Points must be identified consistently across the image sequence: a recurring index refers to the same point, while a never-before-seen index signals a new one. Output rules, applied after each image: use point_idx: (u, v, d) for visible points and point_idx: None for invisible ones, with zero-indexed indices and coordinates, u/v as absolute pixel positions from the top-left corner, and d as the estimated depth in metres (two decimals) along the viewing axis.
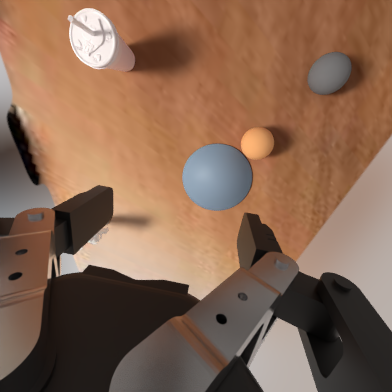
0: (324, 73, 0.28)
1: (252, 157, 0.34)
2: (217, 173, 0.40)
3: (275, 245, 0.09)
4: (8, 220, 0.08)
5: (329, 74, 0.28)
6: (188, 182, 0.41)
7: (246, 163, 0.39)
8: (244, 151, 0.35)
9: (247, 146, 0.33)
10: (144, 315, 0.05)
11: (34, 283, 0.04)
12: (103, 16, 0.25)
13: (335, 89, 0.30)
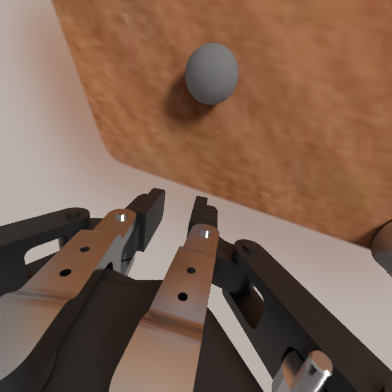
0: (223, 57, 0.18)
1: None
2: None
3: (214, 221, 0.10)
4: (94, 220, 0.09)
5: (217, 58, 0.18)
6: None
7: None
8: None
9: None
10: (144, 315, 0.05)
11: (71, 287, 0.04)
12: None
13: (191, 57, 0.19)
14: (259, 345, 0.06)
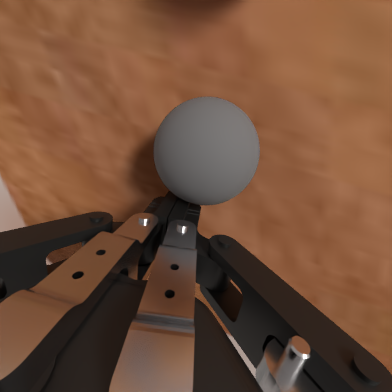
0: (236, 113, 0.09)
1: None
2: None
3: (195, 218, 0.10)
4: (116, 224, 0.09)
5: (224, 111, 0.08)
6: None
7: None
8: None
9: None
10: None
11: (80, 291, 0.04)
12: None
13: (171, 111, 0.10)
14: (239, 337, 0.07)
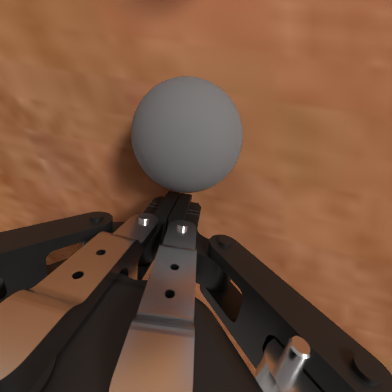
0: None
1: None
2: None
3: (195, 218, 0.10)
4: (116, 224, 0.09)
5: None
6: None
7: None
8: None
9: None
10: None
11: (80, 291, 0.04)
12: None
13: None
14: (239, 337, 0.07)
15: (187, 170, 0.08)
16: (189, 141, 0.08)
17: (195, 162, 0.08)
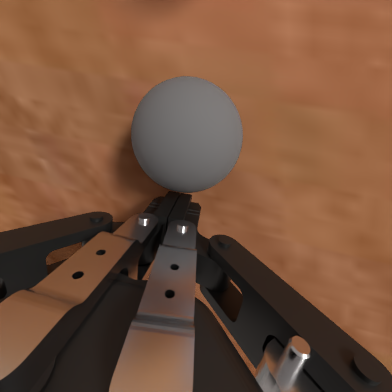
0: None
1: None
2: None
3: (195, 218, 0.10)
4: (116, 224, 0.09)
5: None
6: None
7: None
8: None
9: None
10: None
11: (80, 291, 0.04)
12: None
13: None
14: (239, 337, 0.07)
15: (187, 170, 0.08)
16: (189, 141, 0.08)
17: (195, 162, 0.08)
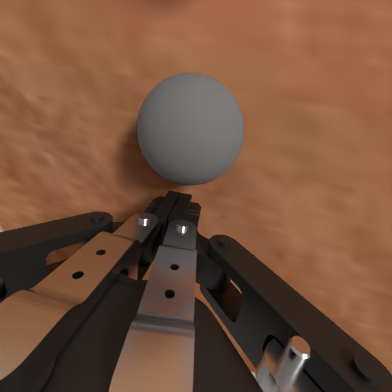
0: None
1: None
2: None
3: (195, 218, 0.10)
4: (116, 224, 0.09)
5: None
6: None
7: None
8: None
9: None
10: None
11: (80, 291, 0.04)
12: None
13: None
14: (239, 337, 0.07)
15: (191, 162, 0.09)
16: (194, 134, 0.08)
17: (199, 154, 0.08)
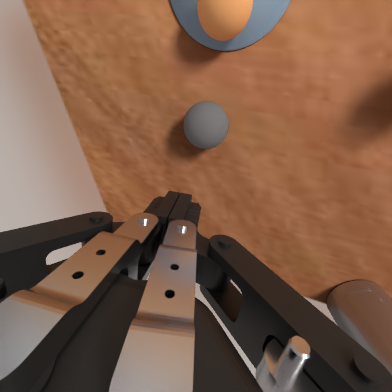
0: None
1: None
2: None
3: (195, 218, 0.10)
4: (116, 224, 0.09)
5: None
6: None
7: (203, 40, 0.23)
8: None
9: None
10: None
11: (80, 291, 0.04)
12: None
13: None
14: (239, 338, 0.07)
15: (207, 136, 0.23)
16: (209, 125, 0.22)
17: (210, 132, 0.22)
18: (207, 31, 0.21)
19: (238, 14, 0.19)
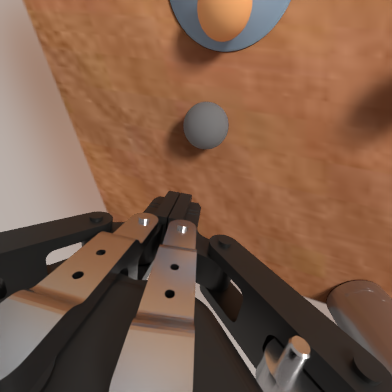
0: None
1: None
2: None
3: (195, 218, 0.10)
4: (116, 224, 0.09)
5: None
6: None
7: (203, 40, 0.24)
8: None
9: None
10: None
11: (80, 291, 0.04)
12: None
13: None
14: (239, 337, 0.07)
15: (207, 136, 0.23)
16: (208, 125, 0.22)
17: (210, 133, 0.22)
18: (207, 32, 0.21)
19: (237, 15, 0.19)
